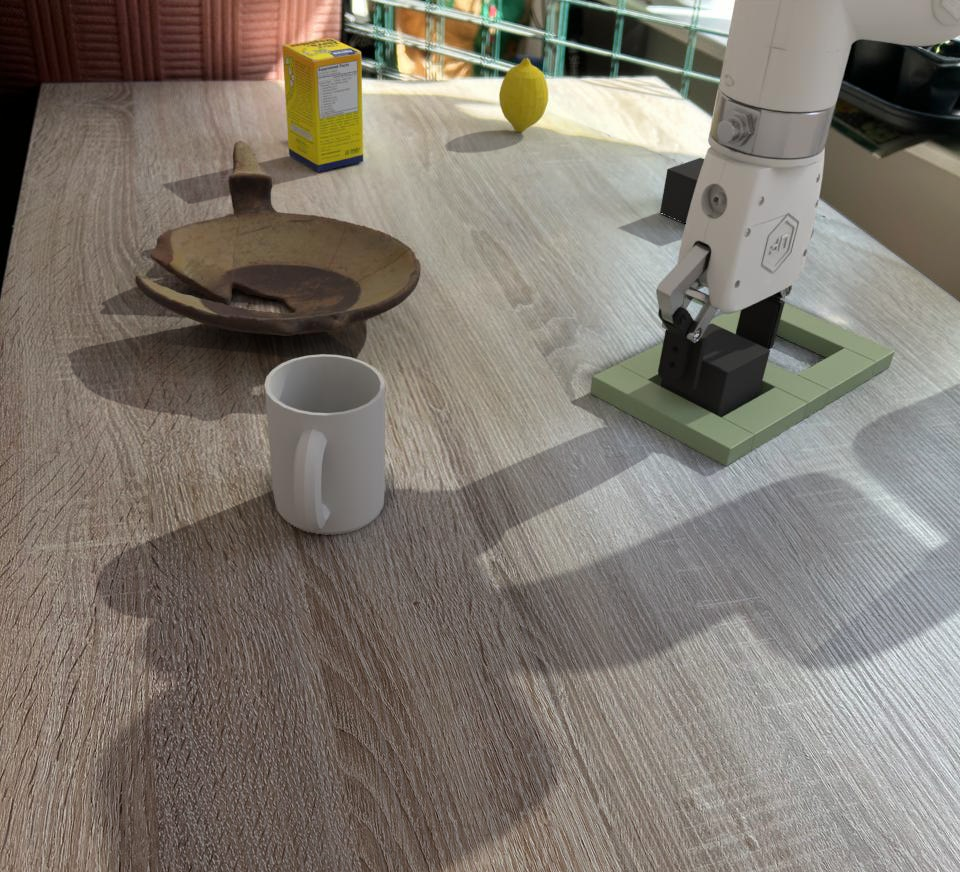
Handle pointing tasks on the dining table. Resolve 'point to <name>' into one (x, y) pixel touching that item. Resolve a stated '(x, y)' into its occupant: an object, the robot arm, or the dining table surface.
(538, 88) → the fruit
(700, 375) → the black block
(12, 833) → the dining table surface
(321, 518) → the cup
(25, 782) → the dining table surface
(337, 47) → the supplement box
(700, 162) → the black square block
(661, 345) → the base board
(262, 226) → the broken clay pan
